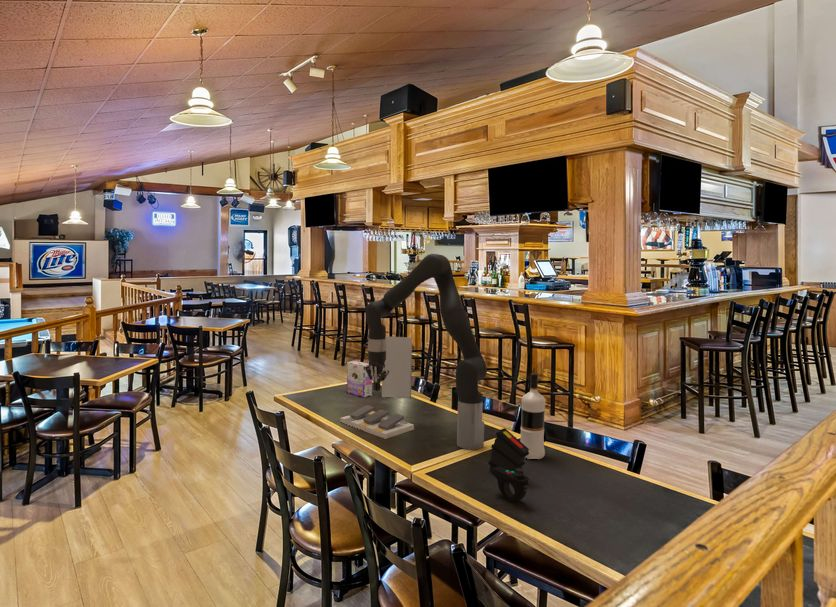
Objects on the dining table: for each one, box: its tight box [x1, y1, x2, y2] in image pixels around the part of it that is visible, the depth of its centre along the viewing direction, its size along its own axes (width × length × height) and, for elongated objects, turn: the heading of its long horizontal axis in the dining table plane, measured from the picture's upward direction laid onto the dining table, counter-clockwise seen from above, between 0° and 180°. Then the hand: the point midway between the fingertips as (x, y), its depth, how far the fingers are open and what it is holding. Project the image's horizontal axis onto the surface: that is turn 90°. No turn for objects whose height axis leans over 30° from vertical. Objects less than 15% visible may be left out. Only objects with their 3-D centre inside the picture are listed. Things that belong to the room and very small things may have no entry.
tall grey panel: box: [381, 336, 413, 399], centre depth 261 cm, size 14×6×30 cm, turn 84°
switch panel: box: [339, 410, 415, 440], centre depth 216 cm, size 28×16×3 cm, turn 47°
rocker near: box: [378, 413, 405, 430], centre depth 209 cm, size 5×10×1 cm, turn 137°
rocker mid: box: [363, 408, 390, 424], centre depth 215 cm, size 5×10×1 cm, turn 137°
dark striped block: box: [487, 427, 529, 475], centre depth 168 cm, size 4×13×15 cm, turn 45°
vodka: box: [519, 372, 546, 460], centre depth 185 cm, size 9×9×30 cm
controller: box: [491, 466, 530, 502], centre depth 152 cm, size 4×12×10 cm, turn 39°
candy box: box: [346, 360, 373, 398], centre depth 264 cm, size 14×6×16 cm, turn 46°
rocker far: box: [348, 404, 376, 419], centre depth 222 cm, size 5×10×1 cm, turn 137°
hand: (376, 390), depth 215 cm, fingers closed
